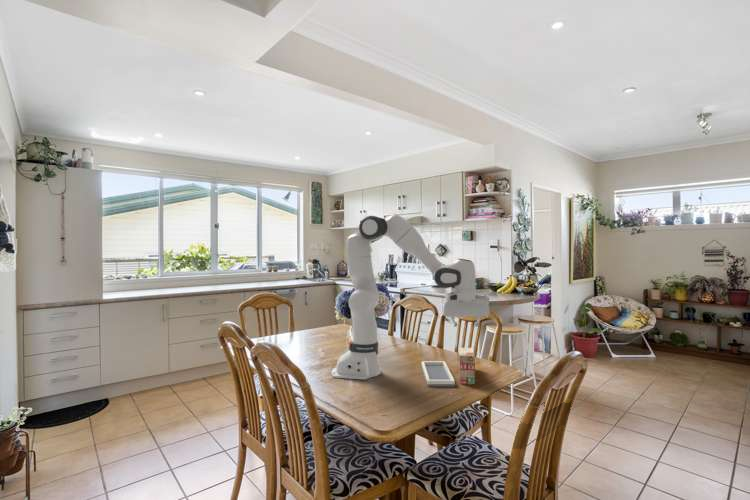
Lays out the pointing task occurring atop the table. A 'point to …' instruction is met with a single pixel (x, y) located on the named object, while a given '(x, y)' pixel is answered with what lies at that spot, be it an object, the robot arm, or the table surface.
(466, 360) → the printed food box
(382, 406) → the table surface
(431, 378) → the base plate
